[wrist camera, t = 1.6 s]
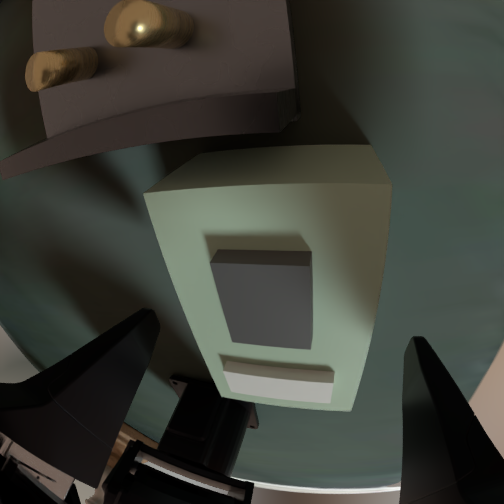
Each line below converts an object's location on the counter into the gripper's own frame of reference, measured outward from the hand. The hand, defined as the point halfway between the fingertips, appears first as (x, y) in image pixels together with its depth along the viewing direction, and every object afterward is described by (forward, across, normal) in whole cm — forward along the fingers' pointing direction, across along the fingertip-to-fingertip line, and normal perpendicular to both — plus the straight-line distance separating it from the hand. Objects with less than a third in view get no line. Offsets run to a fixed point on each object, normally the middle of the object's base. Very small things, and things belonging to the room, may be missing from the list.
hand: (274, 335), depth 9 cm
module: (+4, 0, 0) cm, 4 cm away
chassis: (+4, +5, -13) cm, 14 cm away
